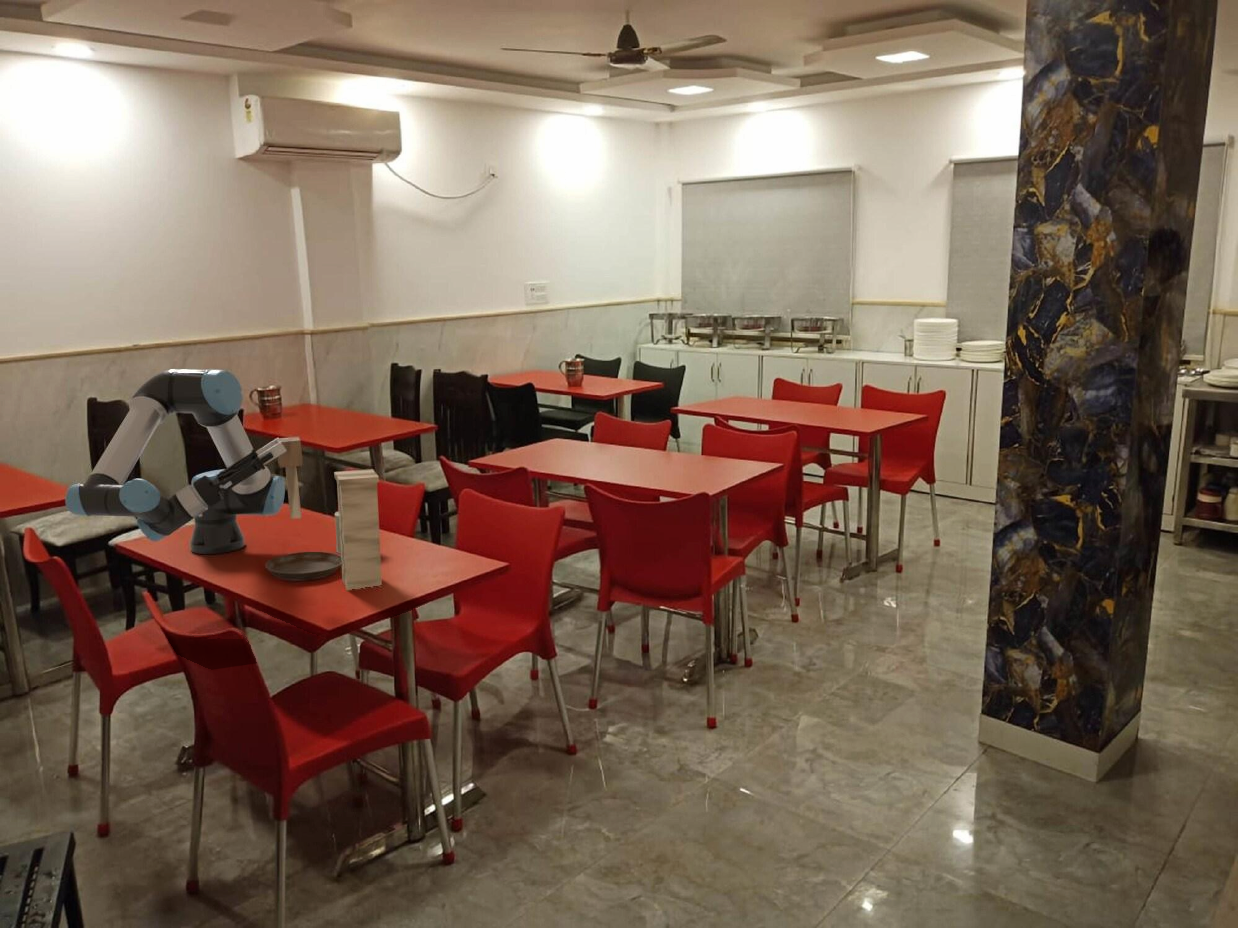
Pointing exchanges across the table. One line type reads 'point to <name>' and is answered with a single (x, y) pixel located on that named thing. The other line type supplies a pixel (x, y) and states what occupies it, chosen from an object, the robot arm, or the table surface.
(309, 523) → the table surface
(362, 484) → the stand
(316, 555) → the plant saucer
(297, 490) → the mallet
